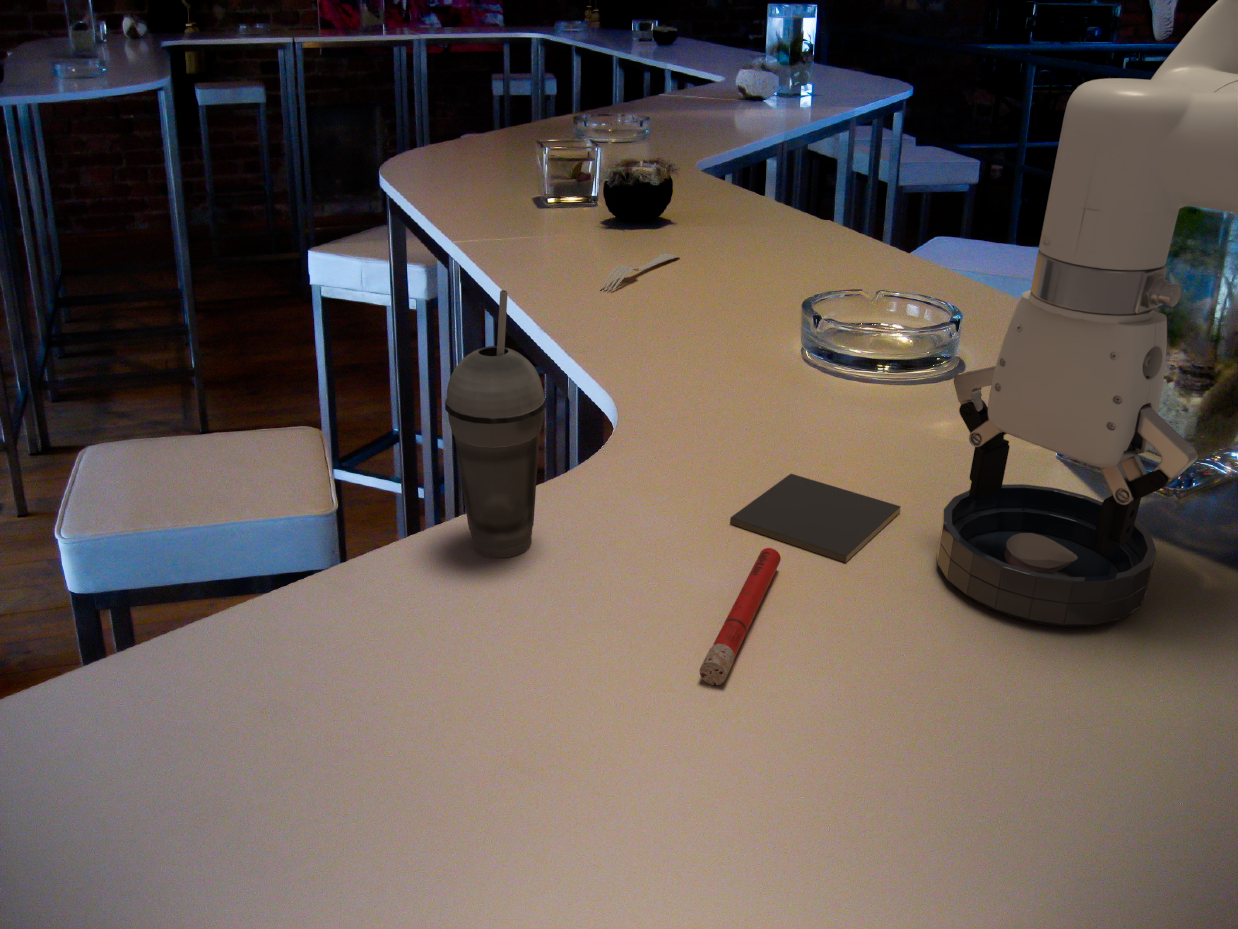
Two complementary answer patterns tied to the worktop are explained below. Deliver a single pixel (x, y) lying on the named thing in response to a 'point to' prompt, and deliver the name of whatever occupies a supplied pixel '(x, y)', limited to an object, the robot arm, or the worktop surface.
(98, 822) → the worktop surface
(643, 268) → the fork
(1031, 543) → the clam shell
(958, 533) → the bowl
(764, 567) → the flare
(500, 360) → the beverage cup
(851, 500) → the coaster
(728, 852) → the worktop surface
